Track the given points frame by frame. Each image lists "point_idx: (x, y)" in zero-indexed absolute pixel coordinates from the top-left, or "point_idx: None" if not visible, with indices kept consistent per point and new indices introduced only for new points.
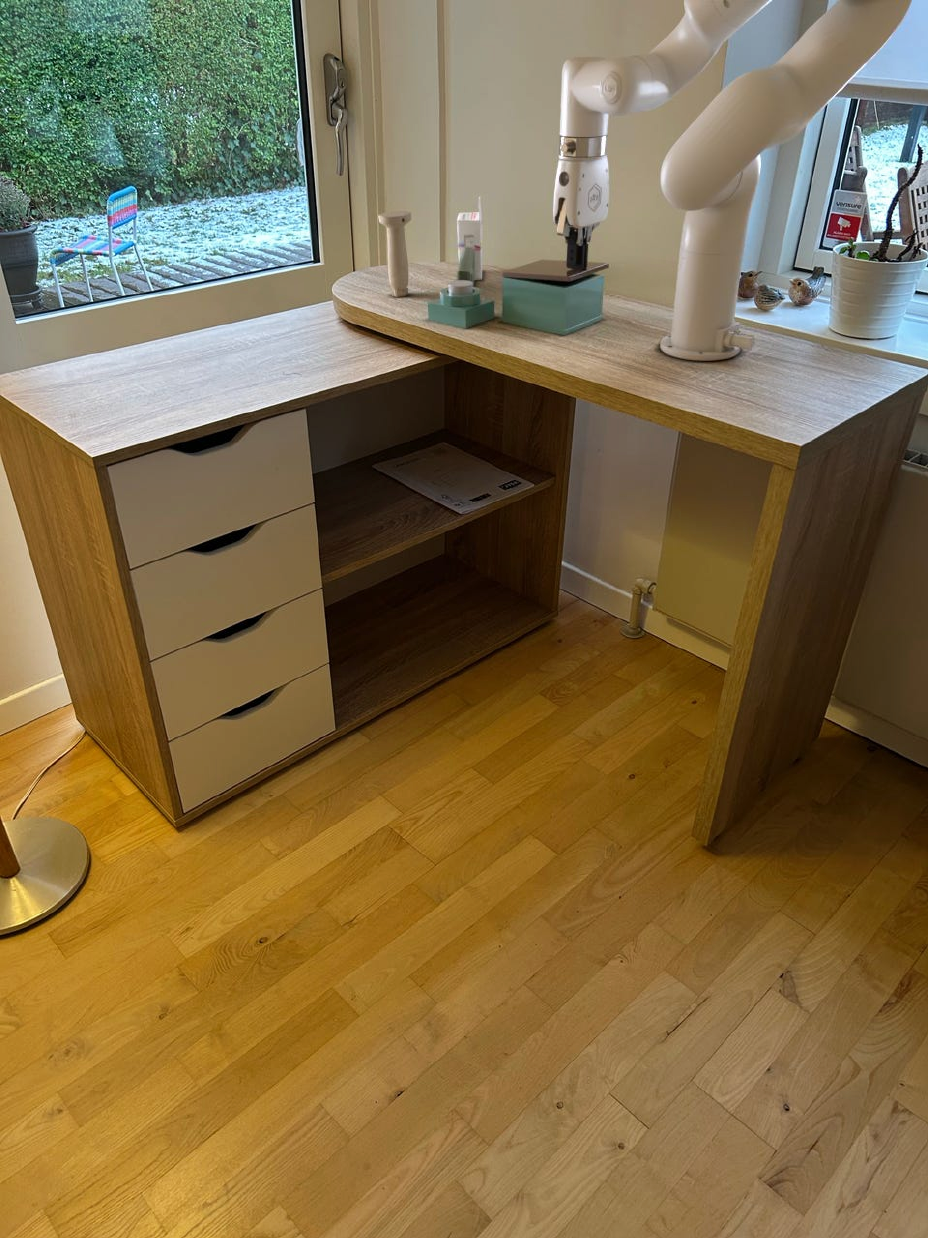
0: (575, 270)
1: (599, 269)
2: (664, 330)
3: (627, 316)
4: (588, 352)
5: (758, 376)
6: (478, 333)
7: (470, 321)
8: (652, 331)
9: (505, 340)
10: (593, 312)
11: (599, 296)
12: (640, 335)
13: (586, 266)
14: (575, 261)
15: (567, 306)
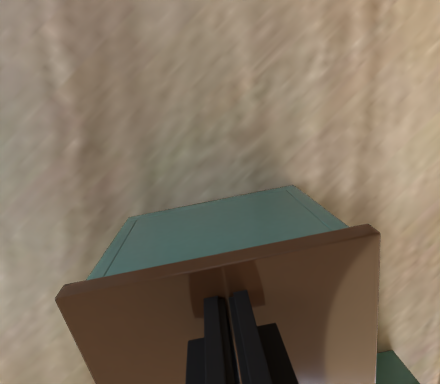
0: (262, 303)
1: (139, 271)
2: (52, 22)
3: (49, 196)
4: (359, 35)
5: None
6: (401, 313)
7: (385, 362)
8: (89, 42)
9: (405, 243)
10: (165, 219)
11: (131, 240)
12: (145, 41)
13: (208, 299)
14: (278, 330)
15: (309, 207)
